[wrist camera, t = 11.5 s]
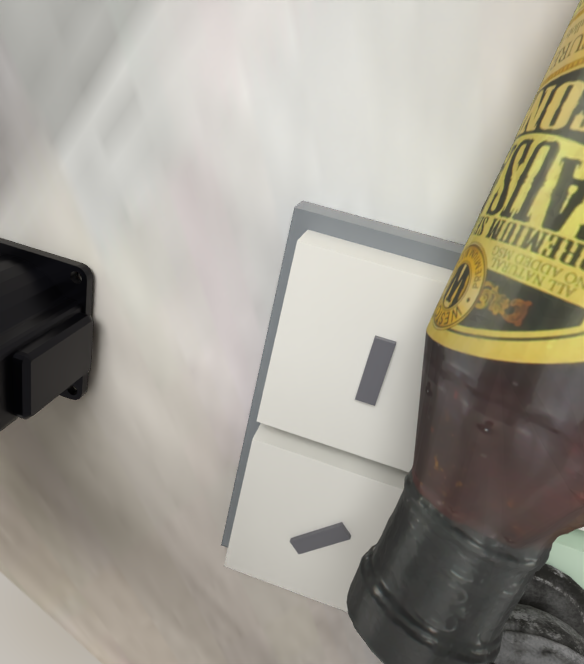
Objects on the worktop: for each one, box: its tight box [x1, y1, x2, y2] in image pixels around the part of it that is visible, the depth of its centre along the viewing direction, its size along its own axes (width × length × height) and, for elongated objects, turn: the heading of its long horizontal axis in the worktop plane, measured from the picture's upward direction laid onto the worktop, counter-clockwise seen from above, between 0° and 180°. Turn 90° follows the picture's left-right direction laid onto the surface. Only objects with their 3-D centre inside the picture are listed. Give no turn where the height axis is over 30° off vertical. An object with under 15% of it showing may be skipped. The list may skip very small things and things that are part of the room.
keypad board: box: [221, 201, 584, 613], centre depth 20 cm, size 16×16×3 cm
